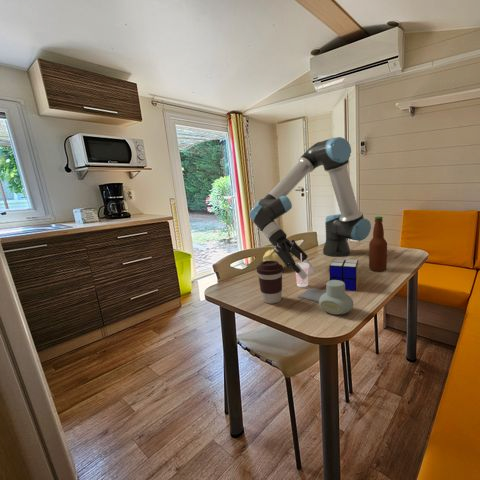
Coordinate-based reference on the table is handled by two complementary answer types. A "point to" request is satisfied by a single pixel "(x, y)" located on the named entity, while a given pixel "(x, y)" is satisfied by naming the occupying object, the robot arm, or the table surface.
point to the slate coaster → (312, 294)
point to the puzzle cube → (345, 272)
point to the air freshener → (336, 298)
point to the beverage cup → (299, 280)
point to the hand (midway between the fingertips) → (309, 275)
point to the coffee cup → (270, 281)
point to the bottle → (378, 248)
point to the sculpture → (273, 257)
